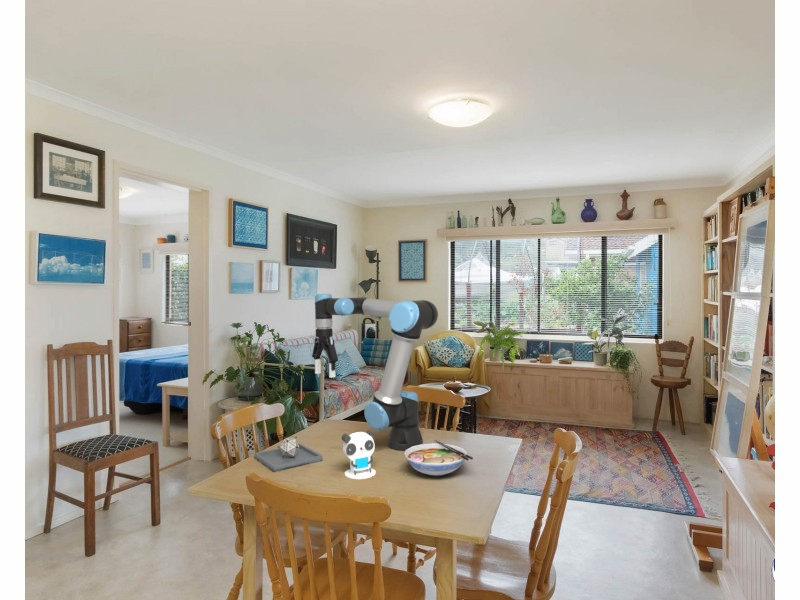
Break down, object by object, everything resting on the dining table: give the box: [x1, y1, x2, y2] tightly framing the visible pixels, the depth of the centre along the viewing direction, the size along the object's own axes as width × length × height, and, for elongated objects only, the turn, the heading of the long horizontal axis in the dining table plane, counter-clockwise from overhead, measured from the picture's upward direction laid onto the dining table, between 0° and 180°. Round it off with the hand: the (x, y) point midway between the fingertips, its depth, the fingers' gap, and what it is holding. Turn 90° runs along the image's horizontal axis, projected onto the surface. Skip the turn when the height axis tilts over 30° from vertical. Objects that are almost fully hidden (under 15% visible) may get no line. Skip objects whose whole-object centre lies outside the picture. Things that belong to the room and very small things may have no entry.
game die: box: [277, 436, 301, 458], centre depth 200 cm, size 9×8×10 cm
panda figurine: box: [341, 429, 377, 480], centre depth 183 cm, size 12×11×15 cm
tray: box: [253, 443, 323, 473], centre depth 200 cm, size 20×20×2 cm
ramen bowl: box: [403, 439, 474, 477], centre depth 183 cm, size 25×23×8 cm
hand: (325, 375), depth 226 cm, fingers open, 13 cm apart
